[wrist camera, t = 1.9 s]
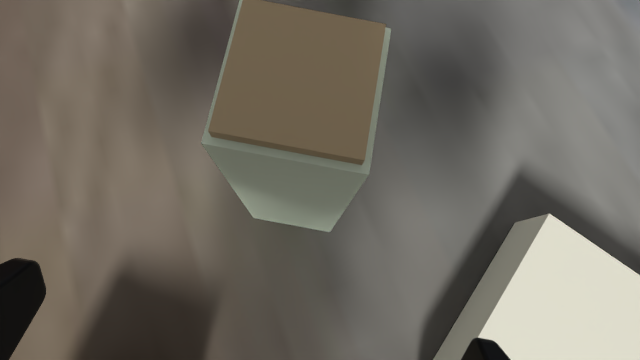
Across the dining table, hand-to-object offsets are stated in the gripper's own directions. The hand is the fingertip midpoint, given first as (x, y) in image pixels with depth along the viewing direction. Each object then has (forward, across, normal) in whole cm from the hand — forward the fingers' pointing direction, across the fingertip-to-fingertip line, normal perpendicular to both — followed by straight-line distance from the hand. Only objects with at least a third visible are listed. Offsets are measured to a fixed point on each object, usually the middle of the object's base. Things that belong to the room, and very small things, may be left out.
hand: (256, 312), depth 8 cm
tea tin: (+12, 0, +5) cm, 13 cm away
